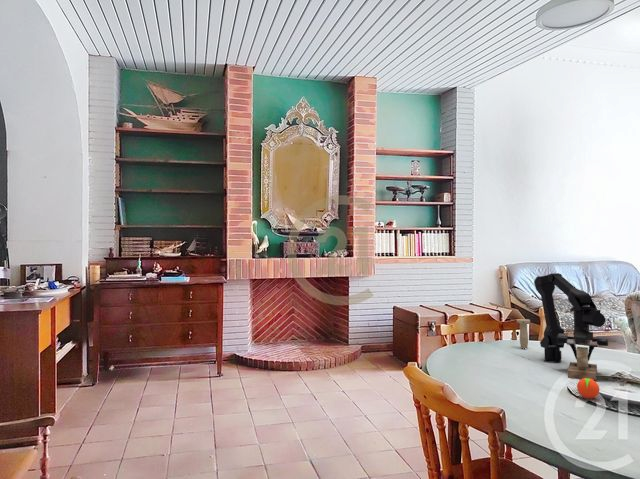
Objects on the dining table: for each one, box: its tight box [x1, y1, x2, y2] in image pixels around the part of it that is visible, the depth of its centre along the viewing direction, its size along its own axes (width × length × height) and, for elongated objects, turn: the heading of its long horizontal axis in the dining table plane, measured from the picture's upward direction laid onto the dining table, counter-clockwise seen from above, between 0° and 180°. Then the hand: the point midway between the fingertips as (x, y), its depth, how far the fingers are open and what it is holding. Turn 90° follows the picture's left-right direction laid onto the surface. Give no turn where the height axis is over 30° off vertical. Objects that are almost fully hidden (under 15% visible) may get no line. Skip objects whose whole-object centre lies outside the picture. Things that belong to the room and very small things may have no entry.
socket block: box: [567, 361, 598, 381], centre depth 194 cm, size 10×15×3 cm, turn 148°
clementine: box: [576, 378, 600, 399], centre depth 165 cm, size 8×7×7 cm
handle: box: [516, 318, 531, 349], centre depth 242 cm, size 5×6×15 cm
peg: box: [576, 346, 589, 368], centre depth 197 cm, size 4×4×8 cm
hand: (582, 359), depth 197 cm, fingers closed on peg, 4 cm apart
